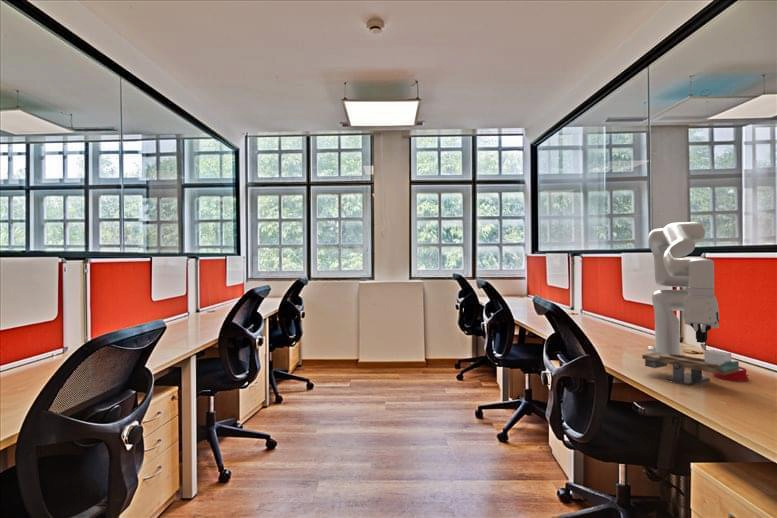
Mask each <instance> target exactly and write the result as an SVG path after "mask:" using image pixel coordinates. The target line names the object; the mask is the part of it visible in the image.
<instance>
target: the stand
mask: <svg viewBox="0 0 777 518" xmlns="http://www.w3.org/2000/svg"><path fill="white" fill-rule="evenodd" d="M666 380H668V381H667V382H669V381H672V382H671V383H674V382H675V384H678V383H679V385H682V384H683V385H682V386H687V385H688V386H687V387H690V385H691V386H694V384H695V385H697V384H702V383H704V382H708V381H711V378H710V377H708V376H703V371H701V370H696V369H691V368H690V372H685V367H684V366H682V365H677V364H674V365H672V376H667V377H665V381H666Z"/></svg>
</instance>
